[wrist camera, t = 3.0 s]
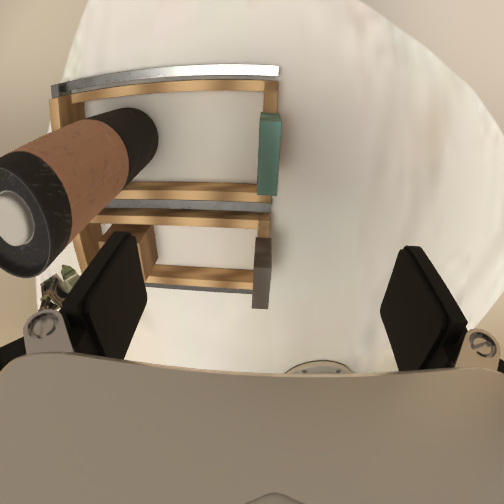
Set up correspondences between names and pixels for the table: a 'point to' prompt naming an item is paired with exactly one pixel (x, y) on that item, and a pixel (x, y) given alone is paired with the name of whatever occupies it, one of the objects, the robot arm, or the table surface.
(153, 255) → the walnut block
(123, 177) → the travel mug
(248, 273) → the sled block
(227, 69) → the lane frame
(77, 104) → the brown low piece
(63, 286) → the eiffel tower figurine
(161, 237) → the table surface
